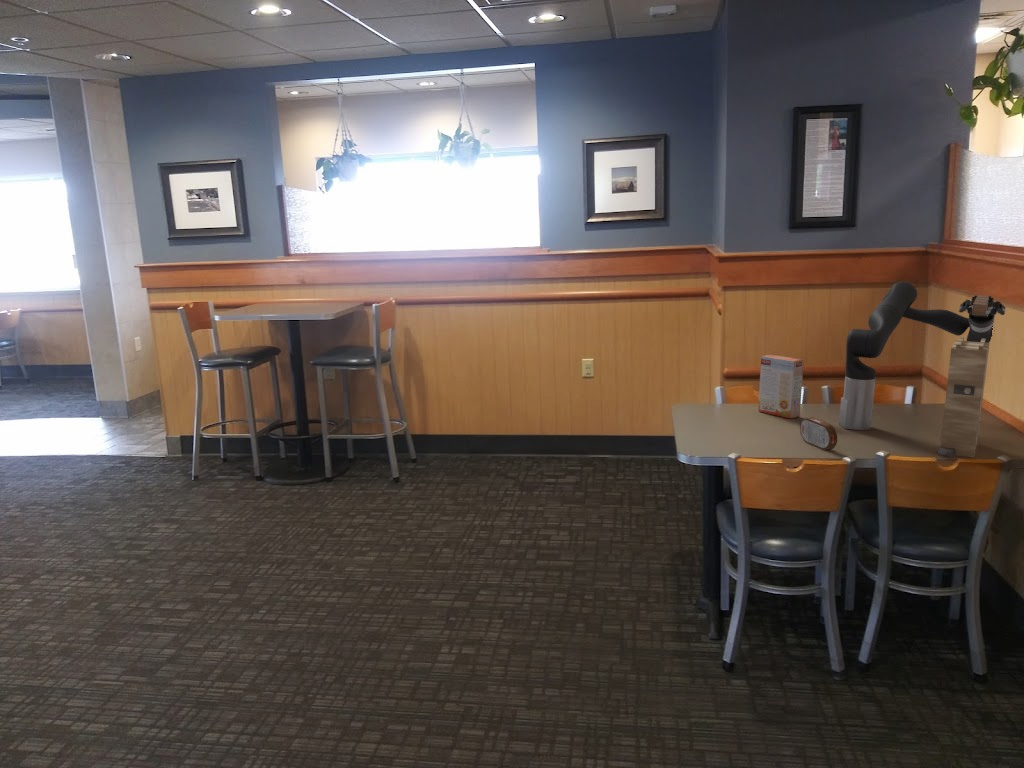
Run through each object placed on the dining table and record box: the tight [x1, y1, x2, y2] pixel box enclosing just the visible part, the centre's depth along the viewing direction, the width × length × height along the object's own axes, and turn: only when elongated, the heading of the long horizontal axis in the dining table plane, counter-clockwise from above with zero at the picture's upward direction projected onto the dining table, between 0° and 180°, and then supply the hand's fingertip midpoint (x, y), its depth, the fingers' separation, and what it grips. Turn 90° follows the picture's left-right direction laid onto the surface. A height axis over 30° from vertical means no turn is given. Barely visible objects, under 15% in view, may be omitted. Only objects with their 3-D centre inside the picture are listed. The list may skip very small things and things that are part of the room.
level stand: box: [937, 336, 991, 458], centre depth 231 cm, size 22×9×33 cm, turn 147°
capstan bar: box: [972, 294, 990, 316], centre depth 248 cm, size 24×4×4 cm, turn 147°
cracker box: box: [757, 354, 805, 419], centre depth 277 cm, size 14×6×21 cm, turn 34°
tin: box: [799, 416, 838, 451], centre depth 241 cm, size 15×3×8 cm, turn 17°
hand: (982, 298), depth 253 cm, fingers closed on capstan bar, 3 cm apart
